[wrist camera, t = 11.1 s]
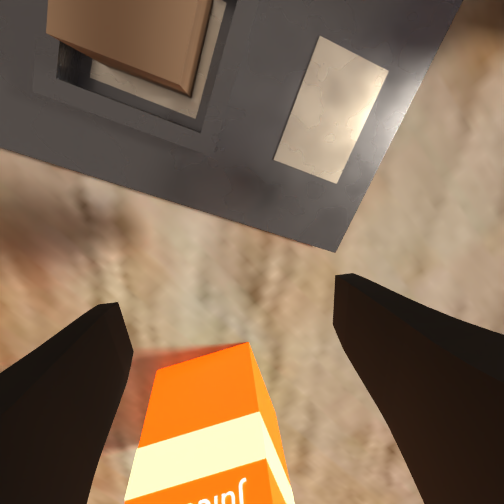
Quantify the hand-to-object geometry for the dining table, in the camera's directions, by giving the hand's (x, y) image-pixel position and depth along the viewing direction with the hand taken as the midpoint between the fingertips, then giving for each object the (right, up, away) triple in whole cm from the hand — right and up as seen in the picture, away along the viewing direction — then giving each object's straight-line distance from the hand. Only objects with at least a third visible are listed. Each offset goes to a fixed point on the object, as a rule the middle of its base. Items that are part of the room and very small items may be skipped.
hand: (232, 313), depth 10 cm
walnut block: (-4, +12, +3) cm, 13 cm away
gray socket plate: (-2, +12, +5) cm, 13 cm away
